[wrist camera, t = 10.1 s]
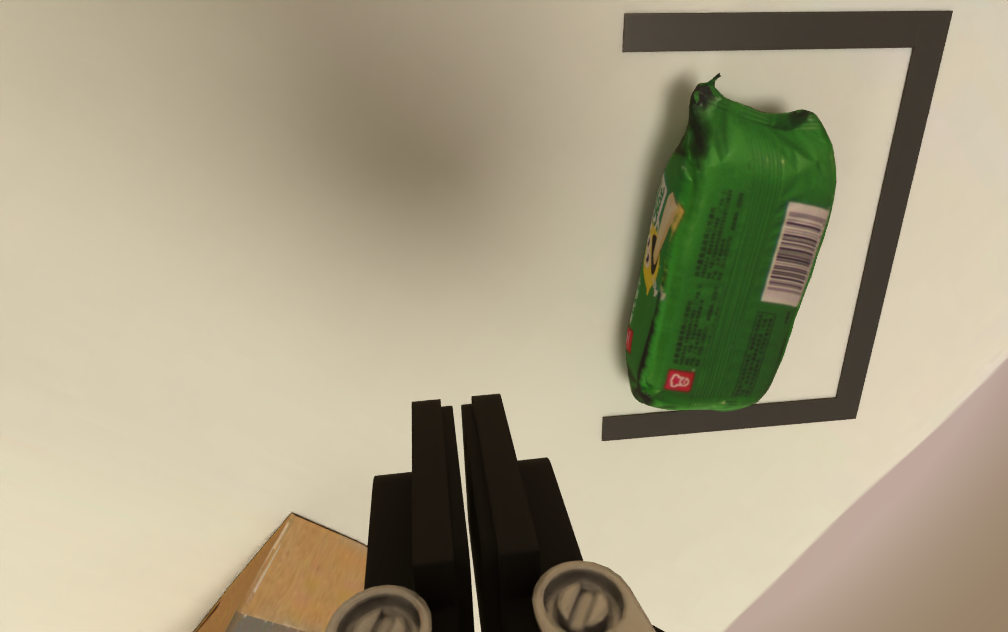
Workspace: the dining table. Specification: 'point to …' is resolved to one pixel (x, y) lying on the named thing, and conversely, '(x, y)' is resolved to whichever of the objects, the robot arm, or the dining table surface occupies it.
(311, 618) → the sandwich container
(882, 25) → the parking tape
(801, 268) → the snack package
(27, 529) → the dining table surface
